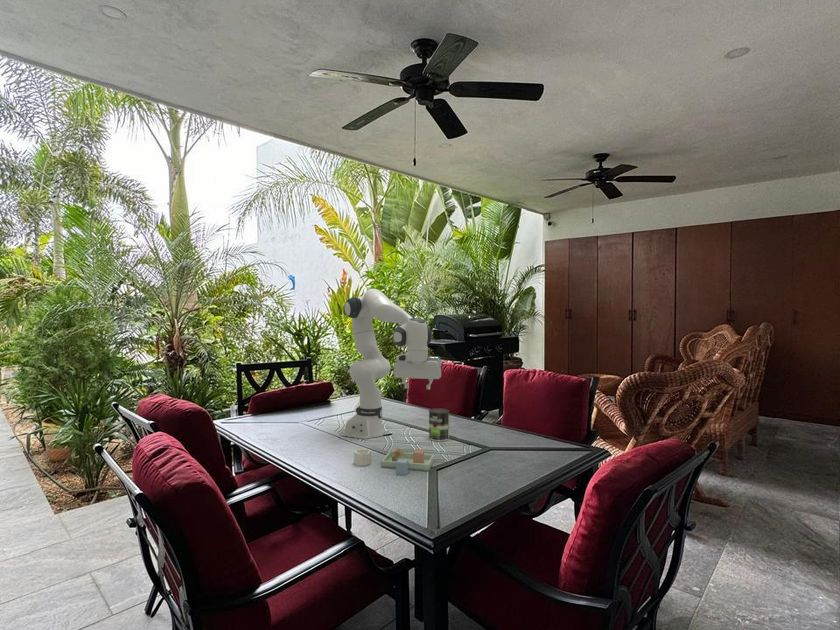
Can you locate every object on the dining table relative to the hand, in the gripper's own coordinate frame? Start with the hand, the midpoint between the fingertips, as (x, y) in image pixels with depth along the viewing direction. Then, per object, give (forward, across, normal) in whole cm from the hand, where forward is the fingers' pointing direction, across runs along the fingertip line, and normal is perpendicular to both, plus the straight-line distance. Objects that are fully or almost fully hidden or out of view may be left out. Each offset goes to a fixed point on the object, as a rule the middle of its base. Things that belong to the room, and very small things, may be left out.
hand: (417, 388), depth 186 cm
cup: (+31, +22, +7) cm, 39 cm away
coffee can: (+31, -4, -34) cm, 46 cm away
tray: (+31, +3, +4) cm, 32 cm away
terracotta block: (+30, -1, +4) cm, 31 cm away
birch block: (+30, +8, +4) cm, 32 cm away
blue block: (+31, +3, +14) cm, 34 cm away
